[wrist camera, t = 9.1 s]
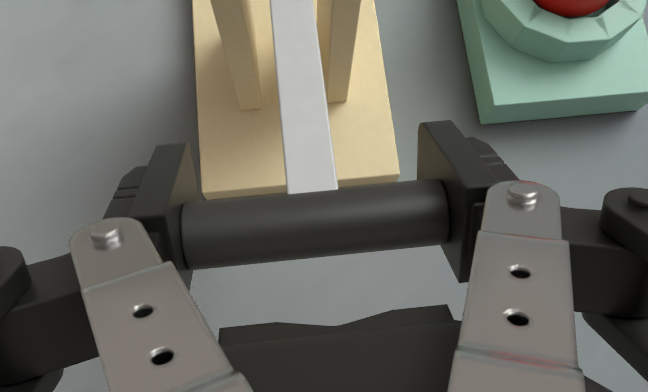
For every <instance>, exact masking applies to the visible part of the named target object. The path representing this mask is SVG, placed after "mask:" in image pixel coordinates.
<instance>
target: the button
mask: <svg viewBox="0 0 648 392" xmlns="http://www.w3.org/2000/svg"><path fill="white" fill-rule="evenodd" d="M533 1H534V2H535V3H536V4H538V5H539V6H540V7H542V8H544V9H545V10H547V11H549V12H551V13H554V14H557V15H561V16H567V17H579V16H585V15H588V14H591V13H594V12H596V11H598V10H599V9H601V8H602V7H603V6H605V5H606V3H607V2H608V1H609V0H533Z"/></svg>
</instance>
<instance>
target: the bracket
mask: <svg viewBox="0 0 648 392" xmlns="http://www.w3.org/2000/svg"><path fill="white" fill-rule="evenodd" d="M313 3H314V10H315V18H316V25H317V32H318V40H319V47H320V55H321V62H322V69H323V77H324V84H325V92H326V99H327V107H328V114H329V121H330V129H331V136H332V144H333V151H334V158H335V166H336V173H337V181H338V187H347V186H358V185H368V184H378V183H389V182H396V181H397V179H398V177H399V175H400V169H399V163H398V156H397V149H396V143H395V136H394V129H393V123H392V116H391V109H390V103H389V96H388V89H387V83H386V76H385V69H384V63H383V56H382V49H381V43H380V36H379V29H378V23H377V16H376V10H375V3H374V0H313ZM192 13H193V33H194V52H195V72H196V91H197V110H198V130H199V149H200V169H201V188H202V194H203V195H204V197H205V198H206V199H207V200H212V199H222V198H233V197H243V196H253V195H264V194H274V193H285V192H287V189H286V178H285V166H284V155H283V144H282V133H281V122H280V111H279V100H278V89H277V78H276V67H275V56H274V45H273V34H272V23H271V12H270V1H269V0H192Z"/></svg>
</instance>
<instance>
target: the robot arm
mask: <svg viewBox="0 0 648 392" xmlns="http://www.w3.org/2000/svg"><path fill="white" fill-rule="evenodd" d="M435 178H436V179H439V180H441V182H442V183H443V185H444V188H445V190H446V193H447V197H448V202H449V209H450V234H449V238H448V241H447V242H446V243H445V244H443V245H441V247H442V249H443V251H444V254H445V256H446V258H447V260H448V262H449V264H450V266H451V268H452V270H453V272H454V274H455V276H456V278H457V280H458V282H459V283H464V282H469V284H468V290H467V296H466V301H465V307H464V313H463V318H462V321H457V320H454V319H453V317H452V314H451V312H450V310H449V308H448V305H447V304H446V305H436V306H427V307H417V308H408V309H398V310H391V311H387V312H384V313H381V314H377V315H374V316H371V317H367V318H364V319H360V320H357V321H354V322H350V323H347V324H343V325H339V326H321V325H307V324H293V323H280V322H274V323H265V324H255V325H246V326H236V327H227V328H220V329H219V339H218V342H217V340H216V338H215V336H214V335H213V333H212V331H211V329H210V328H209V326H208V324H207V322H206V321H205V319H204V317H203V315H202V314H201V312H200V310H199V308H198V307H197V305H196V303H195V301H194V300H193V298H192V296H191V294H190V293H189V290H190V284H191V279H192V273H193V270H190V269H189V268H188V267H187V265H186V262H185V259H184V256H183V251H182V244H181V234H180V215H181V209H182V206H183V204H184V203H186V202H196V201H200V198H199V192H198V187H197V181H196V176H195V170H194V165H193V159H192V154H191V149H190V146H189V144H188V143H178V144H166V145H157V146H156V147H155V150H154V152H153V155H152V157H151V160H150V162H149V164H148V166H139V167H135V168H134V169H133V170H131V171H130V172H129V173H128V174H126V175H125V176H124V177H123V178H122V180H121V182H120V184H119V186H118V188H117V189H118V190H116V192H115V194H114V196H113V200H111V203H110V205H109V207H108V209H107V211H106V213H105V215H104V217H103V219H102V220H99V221H96V222H93V223H91V224H89V225H87V226H85V227H83V228H81V229H80V230H78V231H77V232H76V233H74V235H73V236H72V237H71V238H70V240H69V243H68V244H69V249H70V253H68V254H65V255H63V256H60V257H57V258H53V259H49V260H46V261H42V262H38V263H35V264H31V265H27V266H26V263H25V260H24V257H23V255H22V253H21V251H19V250H18V249H16V248H13V247H6V246H0V392H53V390H54V389H55V387H56V386H57V384H58V383H59V381H60V379H61V377H62V375H63V371H64V368H66V367H69V366H72V365H75V364H78V363H81V362H84V361H87V360H90V359H93V358H96V357H99V356H100V359H101V363H102V366H103V370H104V373H105V376H106V380H107V383H108V387H109V390H110V392H613V391H611V390H609V389H607V388H605V387H604V386H602V385H600V384H598V383H596V382H595V381H593V380H591V379H589V378H588V377H586V376H584V374H583V371H582V369H579V366H578V359H577V345H576V332H575V318H574V311H575V312H582V316H583V318H584V320H585V321H586V322H587V323H588V325H590V326H591V327H592V328H593V329H594V330H595V331H596V332H597V333H598V334H599V335H600V336H601V337H602V338H603V339H604V340H605V341H606V342H607V343H608V344H609V345H610V346H611V347H612V348H613V349H614V350H615V351H616V352H617V353H618V354H620V355H621V356H622V357H623V358H624V359H625V360H626V361H627V362H628V363H629V364H630V365H631V366H632V367H633V368H634V369H635V370H636V371H637V372H638V373H639V374H640V375H641V376H642V377H643V378H644V379H645V380H646V381H647V382H648V189H644V188H619V189H615V190H612V191H610V192H608V193H607V194H606V195H605V197H604V201H603V206H602V210H589V209H575V208H567V207H561V206H560V199H559V196H558V194H557V193H556V192H555V191H554V190H552V189H551V188H549V187H547V186H544V185H542V184H539V183H535V182H530V181H522V180H519V179H518V177H517V176H516V175H515V174H514V173H513V172H512V171H511V169H510V168H509V167H508V166H507V165H506V164H504V161H503V160H502V159H501V158H500V157H499V156H497V153H496V152H495V151H494V150H493V149H492V148H491V147H490V145H488V144H486V143H484V142H482V141H480V140H478V139H476V138H474V137H470V138H465V137H464V136H463V134H462V133H461V132H460V131H459V129H458V128H457V127H456V126H455V124H454V123H453V122H452V121H451V120H446V121H435V122H423V123H420V125H419V129H418V155H417V180H425V179H435Z"/></svg>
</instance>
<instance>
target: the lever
mask: <svg viewBox="0 0 648 392" xmlns="http://www.w3.org/2000/svg"><path fill="white" fill-rule="evenodd" d="M269 1H270V12H271V23H272V34H273V45H274V56H275V67H276V78H277V89H278V100H279V111H280V122H281V133H282V144H283V155H284V166H285V178H286V189H287V193H279V194H269V195H258V196H248V197H237V198H227V199H216V200H206V201H196V202H186V203H184V204H183V206H182V209H181V215H180V234H181V244H182V251H183V256H184V259H185V262H186V265H187V267H188V268H189V269H190V270H198V269H208V268H218V267H227V266H237V265H247V264H257V263H267V262H276V261H286V260H296V259H306V258H316V257H325V256H335V255H345V254H355V253H365V252H374V251H384V250H394V249H404V248H414V247H423V246H433V245H443V244H445V243H446V242H447V241H448V238H449V234H450V209H449V202H448V197H447V193H446V190H445V188H444V185H443V183H442V182H441V180H439V179H436V178H435V179H425V180H414V181H404V182H394V183H383V184H373V185H362V186H352V187H342V188H338V181H337V173H336V166H335V158H334V151H333V144H332V136H331V129H330V121H329V114H328V107H327V99H326V92H325V84H324V77H323V69H322V62H321V55H320V47H319V40H318V32H317V25H316V18H315V10H314V3H313V0H269Z"/></svg>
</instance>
